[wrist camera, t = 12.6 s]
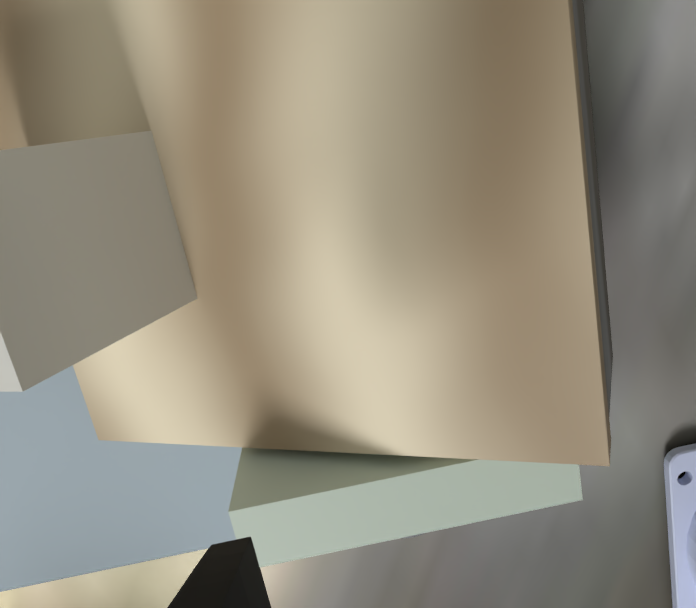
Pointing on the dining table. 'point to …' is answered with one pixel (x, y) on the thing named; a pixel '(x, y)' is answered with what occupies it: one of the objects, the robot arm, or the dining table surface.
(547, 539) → the dining table surface
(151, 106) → the flap
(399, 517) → the flap stand
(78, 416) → the mat
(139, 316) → the light grey block
